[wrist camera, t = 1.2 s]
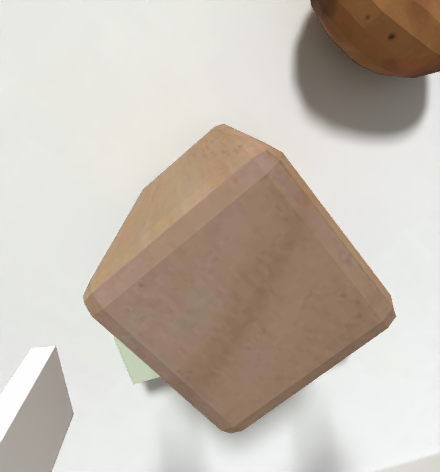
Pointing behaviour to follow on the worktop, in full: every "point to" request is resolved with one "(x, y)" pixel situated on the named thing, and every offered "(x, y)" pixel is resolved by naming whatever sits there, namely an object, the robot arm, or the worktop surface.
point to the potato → (385, 33)
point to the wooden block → (236, 281)
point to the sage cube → (135, 365)
